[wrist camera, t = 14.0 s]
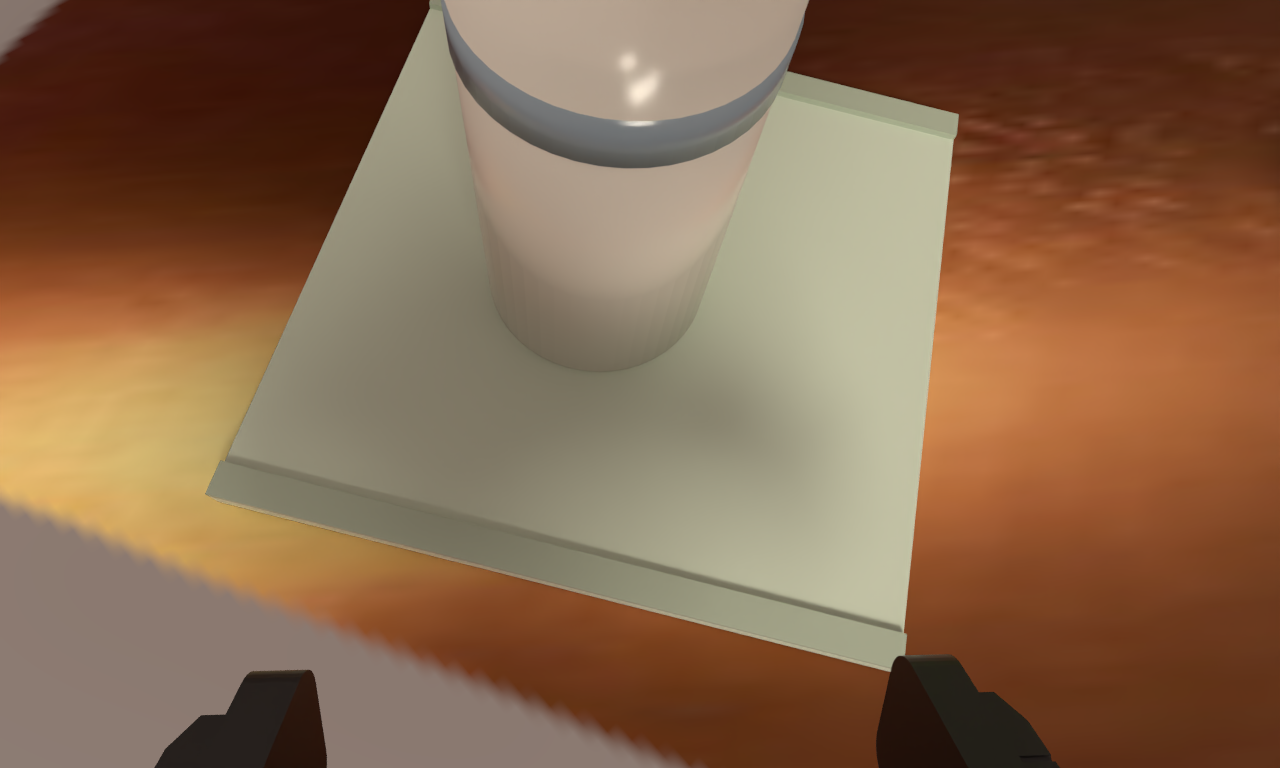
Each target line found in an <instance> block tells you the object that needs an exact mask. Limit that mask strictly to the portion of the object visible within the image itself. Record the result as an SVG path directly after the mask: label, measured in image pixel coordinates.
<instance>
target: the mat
mask: <svg viewBox="0 0 1280 768" xmlns="http://www.w3.org/2000/svg"><path fill="white" fill-rule="evenodd" d="M429 5H430V10H429V12H428V14H427V17H426V19H425V21H424V23H423V25H422V28H421V30H420V32H419V34H418V36H417V39H416V41H415V43H414V45H413V47H412V50H411V52H410V54H409V56H408V58H407V61H406V63H405V65H404V67H403V69H402V72H401V74H400V76H399V78H398V80H397V83H396V85H395V87H394V89H393V92H392V94H391V96H390V98H389V100H388V103H387V105H386V107H385V109H384V111H383V114H382V116H381V118H380V120H379V122H378V125H377V127H376V129H375V131H374V133H373V136H372V138H371V140H370V142H369V144H368V147H367V149H366V151H365V153H364V155H363V158H362V160H361V162H360V164H359V166H358V169H357V171H356V173H355V175H354V177H353V180H352V182H351V184H350V186H349V188H348V191H347V193H346V195H345V197H344V199H343V202H342V204H341V206H340V208H339V210H338V213H337V215H336V217H335V219H334V221H333V224H332V226H331V228H330V230H329V233H328V235H327V237H326V239H325V241H324V244H323V246H322V248H321V250H320V252H319V255H318V257H317V259H316V261H315V263H314V266H313V268H312V270H311V272H310V274H309V277H308V279H307V281H306V283H305V285H304V288H303V290H302V292H301V294H300V296H299V299H298V301H297V303H296V305H295V307H294V310H293V312H292V314H291V316H290V318H289V321H288V323H287V325H286V327H285V329H284V332H283V334H282V336H281V338H280V340H279V343H278V345H277V347H276V349H275V351H274V354H273V356H272V358H271V360H270V362H269V365H268V367H267V369H266V371H265V374H264V376H263V378H262V380H261V382H260V385H259V387H258V389H257V391H256V393H255V396H254V398H253V400H252V402H251V404H250V407H249V409H248V411H247V413H246V415H245V418H244V420H243V422H242V424H241V426H240V429H239V431H238V433H237V435H236V437H235V440H234V442H233V444H232V446H231V448H230V451H229V453H228V455H227V457H226V459H225V461H221V460H220V462H219V465H218V467H217V469H216V471H215V473H214V476H213V478H212V480H211V482H210V484H209V487H208V489H207V491H206V493H205V494H206V495H208V496H209V497H211V498H213V499H215V500H217V501H219V502H221V503H225V504H229V505H233V506H237V507H241V508H245V509H249V510H253V511H257V512H261V513H265V514H269V515H273V516H276V517H280V518H284V519H288V520H292V521H296V522H300V523H304V524H308V525H312V526H316V527H320V528H324V529H328V530H332V531H336V532H340V533H344V534H348V535H352V536H355V537H359V538H363V539H367V540H371V541H375V542H379V543H383V544H387V545H391V546H395V547H399V548H403V549H407V550H411V551H415V552H419V553H423V554H427V555H431V556H435V557H438V558H442V559H446V560H450V561H454V562H458V563H462V564H466V565H470V566H474V567H478V568H482V569H486V570H490V571H494V572H498V573H502V574H506V575H510V576H514V577H518V578H521V579H525V580H529V581H533V582H537V583H541V584H545V585H549V586H553V587H557V588H561V589H565V590H569V591H573V592H577V593H581V594H585V595H589V596H593V597H597V598H600V599H604V600H608V601H612V602H616V603H620V604H624V605H628V606H632V607H636V608H640V609H644V610H648V611H652V612H656V613H660V614H664V615H668V616H672V617H676V618H680V619H683V620H687V621H691V622H695V623H699V624H703V625H707V626H711V627H715V628H719V629H723V630H727V631H731V632H735V633H739V634H743V635H747V636H751V637H755V638H759V639H762V640H766V641H770V642H774V643H778V644H782V645H786V646H790V647H794V648H798V649H802V650H806V651H810V652H814V653H818V654H822V655H826V656H830V657H834V658H838V659H842V660H845V661H849V662H853V663H857V664H861V665H865V666H869V667H873V668H877V669H881V670H885V671H889V672H891V667H892V664H893V662H894V660H895V658H896V657H898V656H905V648H906V638H907V634H905V633H904V624H905V614H906V604H907V594H908V584H909V574H910V564H911V554H912V545H913V535H914V525H915V515H916V505H917V495H918V485H919V475H920V465H921V456H922V446H923V436H924V426H925V416H926V406H927V396H928V386H929V377H930V367H931V357H932V347H933V337H934V327H935V317H936V307H937V297H938V288H939V278H940V268H941V258H942V248H943V238H944V228H945V218H946V209H947V199H948V189H949V179H950V169H951V159H952V149H953V140H954V138H955V137H956V136H957V126H958V116H959V114H955V113H951V112H947V111H943V110H939V109H935V108H931V107H927V106H923V105H919V104H915V103H911V102H907V101H903V100H899V99H895V98H891V97H887V96H883V95H879V94H875V93H871V92H867V91H863V90H859V89H855V88H851V87H847V86H843V85H839V84H835V83H831V82H827V81H823V80H819V79H815V78H812V77H808V76H804V75H800V74H796V73H792V72H788V71H787V72H786V75H785V77H784V80H783V83H782V86H781V88H780V90H779V92H778V94H777V96H776V98H775V100H774V102H773V103H772V105H771V108H770V110H769V113H768V116H767V119H766V122H765V124H764V127H763V130H762V133H761V136H760V138H759V141H758V144H757V147H756V150H755V152H754V155H753V158H752V161H751V164H750V166H749V169H748V172H747V175H746V178H745V180H744V183H743V186H742V189H741V192H740V194H739V197H738V200H737V203H736V206H735V208H734V211H733V214H732V217H731V220H730V222H729V225H728V228H727V231H726V234H725V236H724V239H723V242H722V245H721V248H720V250H719V253H718V256H717V259H716V262H715V264H714V267H713V270H712V273H711V276H710V278H709V281H708V284H707V287H706V290H705V292H704V295H703V298H702V301H701V304H700V306H699V309H698V312H697V314H696V316H695V318H694V320H693V322H692V324H691V325H690V327H689V328H688V330H687V331H686V333H685V334H684V335H683V336H682V337H681V338H680V339H679V340H678V341H677V343H676V344H674V345H673V346H672V347H671V348H669V349H668V350H667V351H666V352H664V353H663V354H661V355H659V356H658V357H656V358H654V359H652V360H650V361H648V362H646V363H643V364H641V365H638V366H635V367H631V368H628V369H623V370H617V371H605V372H594V371H582V370H577V369H572V368H568V367H565V366H562V365H559V364H556V363H553V362H551V361H549V360H547V359H545V358H543V357H541V356H539V355H538V354H536V353H534V352H533V351H531V350H530V349H528V348H527V347H526V346H525V345H524V344H522V343H521V342H520V341H519V340H518V339H517V338H516V337H515V336H514V335H513V334H512V333H511V332H510V330H509V329H508V328H507V326H506V325H505V323H504V322H503V321H502V319H501V317H500V315H499V313H498V311H497V309H496V307H495V304H494V301H493V298H492V295H491V289H490V284H489V278H488V271H487V265H486V259H485V253H484V246H483V240H482V234H481V228H480V221H479V215H478V209H477V203H476V196H475V190H474V184H473V178H472V172H471V165H470V159H469V153H468V147H467V140H466V134H465V128H464V122H463V115H462V109H461V103H460V97H459V90H458V84H457V78H456V72H455V67H454V64H453V61H452V58H451V55H450V52H449V47H448V41H447V35H446V29H445V23H444V17H443V11H442V5H441V0H430V2H429Z"/></svg>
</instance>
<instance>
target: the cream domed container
mask: <svg viewBox="0 0 1280 768" xmlns="http://www.w3.org/2000/svg"><path fill="white" fill-rule="evenodd" d="M808 1H809V0H441V5H442V11H443V17H444V23H445V29H446V35H447V41H448V47H449V52H450V55H451V58H452V61H453V64H454V67H455V72H456V78H457V84H458V90H459V97H460V103H461V109H462V115H463V122H464V128H465V134H466V140H467V147H468V153H469V159H470V165H471V172H472V178H473V184H474V190H475V196H476V203H477V209H478V215H479V221H480V228H481V234H482V240H483V246H484V253H485V259H486V265H487V271H488V278H489V284H490V289H491V295H492V298H493V301H494V304H495V307H496V309H497V311H498V313H499V315H500V317H501V319H502V321H503V322H504V323H505V325H506V326H507V328H508V329H509V330H510V332H511V333H512V334H513V335H514V336H515V337H516V338H517V339H518V340H519V341H520V342H521V343H522V344H524V345H525V346H526V347H527V348H528V349H530V350H531V351H533V352H534V353H536V354H538V355H539V356H541V357H543V358H545V359H547V360H549V361H551V362H553V363H556V364H559V365H562V366H565V367H568V368H572V369H577V370H582V371H594V372H605V371H617V370H623V369H628V368H631V367H635V366H638V365H641V364H643V363H646V362H648V361H650V360H652V359H654V358H656V357H658V356H659V355H661V354H663V353H664V352H666V351H667V350H668V349H669V348H671V347H672V346H673V345H674V344H676V343H677V341H678V340H679V339H680V338H681V337H682V336H683V335H684V334H685V333H686V331H687V330H688V328H689V327H690V325H691V324H692V322H693V320H694V318H695V316H696V314H697V312H698V309H699V306H700V304H701V301H702V298H703V295H704V292H705V290H706V287H707V284H708V281H709V278H710V276H711V273H712V270H713V267H714V264H715V262H716V259H717V256H718V253H719V250H720V248H721V245H722V242H723V239H724V236H725V234H726V231H727V228H728V225H729V222H730V220H731V217H732V214H733V211H734V208H735V206H736V203H737V200H738V197H739V194H740V192H741V189H742V186H743V183H744V180H745V178H746V175H747V172H748V169H749V166H750V164H751V161H752V158H753V155H754V152H755V150H756V147H757V144H758V141H759V138H760V136H761V133H762V130H763V127H764V124H765V122H766V119H767V116H768V113H769V110H770V108H771V105H772V103H773V102H774V100H775V98H776V96H777V94H778V92H779V90H780V88H781V86H782V83H783V80H784V77H785V75H786V72H787V69H788V66H789V64H790V61H791V58H792V55H793V53H794V50H795V47H796V44H797V42H798V39H799V35H800V32H801V29H802V26H803V22H804V14H805V10H806V7H807V4H808Z"/></svg>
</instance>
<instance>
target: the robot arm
mask: <svg viewBox="0 0 1280 768" xmlns="http://www.w3.org/2000/svg"><path fill="white" fill-rule="evenodd" d="M876 750H877V760H878V765H879V768H1060V767H1059V766H1058V765H1057V763H1056V762H1052V760H1051V754H1050V753H1049V751H1048V750H1047V748H1046V747H1045V745H1044V744H1043V742H1042V741H1041V740H1040V738H1039V737H1038V735H1037V734H1036V732H1035V731H1034V729H1033V728H1032V726H1031V725H1030V723H1029V722H1028V721H1027V720H1026V719H1025V718H1024V717H1023V716H1022V715H1020V714H1019V713H1018V712H1017V711H1016V710H1015V709H1013V708H1012V707H1011V706H1010V705H1009V704H1007V703H1006V702H1005V701H1004V700H1003V699H1002V698H1000V697H999V696H998V695H997V694H996V693H994V692H978V690H977V689H976V687H975V686H974V684H973V683H972V681H971V679H970V678H969V676H968V675H967V673H966V672H965V670H964V668H963V667H962V665H961V664H960V662H959V661H958V660H957V659H956V658H955V657H954V656H952V655H949V654H942V655H906V656H898V657H896V658H895V660H894V662H893V664H892V667H891V672H890V676H889V681H888V686H887V690H886V695H885V699H884V704H883V708H882V713H881V717H880V722H879V726H878V731H877V738H876ZM155 768H327V755H326V747H325V741H324V733H323V727H322V721H321V714H320V707H319V701H318V695H317V688H316V682H315V677H314V674H313V673H312V671H311V670H285V671H253V672H250V673H249V674H248V675H247V676H246V677H245V678H244V680H243V682H242V684H241V685H240V687H239V689H238V691H237V693H236V695H235V697H234V699H233V701H232V703H231V705H230V707H229V709H228V711H227V713H226V715H202V716H200V717H199V718H198V719H197V720H196V721H195V722H194V723H193V724H192V725H190V726H189V727H188V728H187V729H186V730H185V731H184V732H183V733H182V734H181V735H180V736H179V737H178V738H177V739H176V740H175V741H173V743H171V744H170V745H169V746H168V747H167V748H166V749H165V750H164V752H163V754H162V756H161V757H160V759H159V761H158V763H157V765H156V766H155Z"/></svg>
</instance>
